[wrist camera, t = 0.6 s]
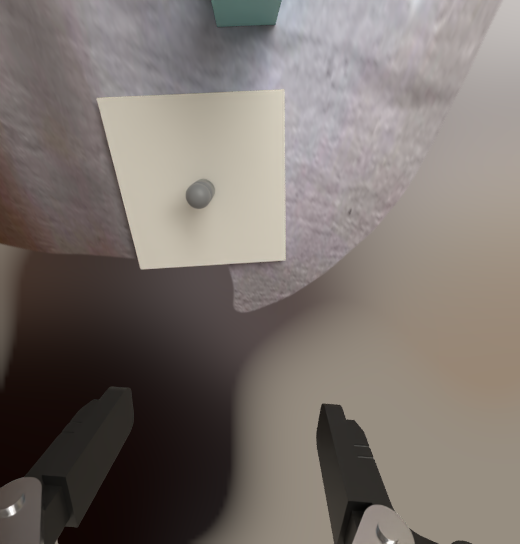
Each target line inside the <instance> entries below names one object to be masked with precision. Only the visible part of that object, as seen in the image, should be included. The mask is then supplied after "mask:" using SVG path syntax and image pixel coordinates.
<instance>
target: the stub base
mask: <svg viewBox="0 0 520 544" xmlns="http://www.w3.org/2000/svg"><path fill="white" fill-rule="evenodd" d="M97 101H98V105H99V109H100V113H101V117H102V121H103V125H104V129H105V133H106V136H107V140H108V144H109V148H110V152H111V156H112V160H113V164H114V168H115V172H116V175H117V179H118V183H119V187H120V191H121V195H122V199H123V203H124V207H125V210H126V214H127V218H128V222H129V226H130V230H131V234H132V238H133V242H134V246H135V249H136V253H137V257H138V261H139V265H140V269H156V268H171V267H188V266H203V265H220V264H236V263H252V262H268V261H284V260H286V248H285V96H284V89H282V90H260V91H238V92H216V93H194V94H172V95H150V96H128V97H106V98H97Z"/></svg>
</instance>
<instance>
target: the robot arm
mask: <svg viewBox="0 0 520 544" xmlns="http://www.w3.org/2000/svg"><path fill="white" fill-rule="evenodd" d="M133 421H134V412H133V403H132V394H131V389H130V388H121V387H110V388H108V389H107V391H106V392H105V393H104V394H103V396H102V397H101V398H100V400H96V399H94V400H92V401H91V402H89V403H88V404H87V405H85V406H84V407H83V408H81V409H80V410H79V412H78V413H77V414H76V415H75V416H74V417H73V419H72V420H71V421H70V424H68V425H67V426H66V427H65V428H64V430H63V431H62V433H61V434H59V436H58V437H57V438H56V439H55V440H54V442H53V443H52V444H51V445H50V447H49V448H48V449H47V450H46V452H45V453H44V454H43V455H42V456H41V457H40V459H39V460H38V461H37V462H36V464H35V465H34V466H33V467H32V468H31V470H30V471H29V472H28V473H27V474H26V475H25V477H24V478H20V479H17V480H15V481H12V482H10V483H8V484H7V485H5V486H3V487H2V488H1V489H0V544H58V543H57V539H58V537H59V535H60V534H61V532H62V530H63V529H64V527H65V526H67V527H78V526H79V524H80V522H81V520H82V518H83V517H84V515H85V513H86V511H87V509H88V507H89V505H90V504H91V502H92V500H93V498H94V496H95V495H96V493H97V491H98V489H99V488H100V486H101V484H102V482H103V480H104V478H105V477H106V475H107V473H108V471H109V469H110V468H111V465H112V464H113V462H114V460H115V458H116V457H117V455H118V453H119V451H120V449H121V448H122V446H123V444H124V442H125V440H126V438H127V437H128V435H129V433H130V431H131V428H132V425H133ZM316 439H317V450H318V456H319V461H320V467H321V472H322V478H323V483H324V489H325V494H326V500H327V506H328V511H329V517H330V522H331V528H332V533H333V539H334V544H438V543H436V542H433V541H431V540H429V539H427V538H424V537H422V536H420V535H418V534H417V533H415V532H414V531H412V530H411V529H410V528H409V527H408V525H407V524H406V522H405V521H404V520H403V519H402V518H401V517H400V516H399V515H398V514H397V513H396V512H395V511H394V509H393V507H392V505H391V502H390V500H389V497H388V495H387V492H386V489H385V486H384V484H383V481H382V479H381V476H380V473H379V471H378V468H377V466H376V463H375V460H374V459H373V455H372V452H371V449H370V448H369V444H368V442H367V439H366V436H365V434H364V431H363V430H362V429H361V428H360V427H359V425H358V424H357V423H356V422H355V421H354V420H346V418H345V415H344V412H343V409H342V407H341V406H340V405H334V404H322V405H321V410H320V415H319V421H318V427H317V435H316ZM452 544H472V543H469V542H466V541H455V542H453V543H452Z"/></svg>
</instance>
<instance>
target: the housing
mask: <svg viewBox="0 0 520 544" xmlns="http://www.w3.org/2000/svg"><path fill="white" fill-rule="evenodd" d="M211 2H212V7H213V11H214V15H215V20H216V24H217V27H226V26H252V25H275V24H276V20H277V16H278V12H279V8H280V4H281V0H211Z"/></svg>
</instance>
